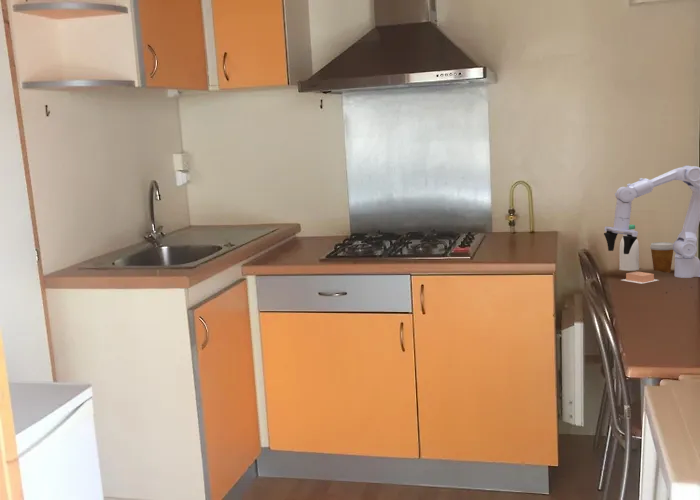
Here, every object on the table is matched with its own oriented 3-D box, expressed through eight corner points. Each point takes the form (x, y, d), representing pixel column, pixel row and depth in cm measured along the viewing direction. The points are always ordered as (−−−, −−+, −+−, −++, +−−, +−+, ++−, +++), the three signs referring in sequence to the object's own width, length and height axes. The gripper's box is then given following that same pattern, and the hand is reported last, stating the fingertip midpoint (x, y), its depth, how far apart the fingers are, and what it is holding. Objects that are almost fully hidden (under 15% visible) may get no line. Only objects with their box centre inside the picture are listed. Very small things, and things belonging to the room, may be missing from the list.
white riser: (638, 280, 296) (638, 276, 296) (659, 283, 287) (659, 280, 287) (620, 283, 291) (620, 280, 291) (641, 287, 282) (641, 283, 282)
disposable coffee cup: (670, 270, 314) (670, 241, 312) (677, 274, 304) (678, 244, 303) (646, 270, 315) (646, 242, 313) (653, 274, 305) (653, 245, 304)
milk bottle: (640, 274, 309) (640, 225, 306) (620, 274, 310) (620, 226, 307) (637, 270, 316) (637, 223, 313) (618, 271, 318) (618, 224, 315)
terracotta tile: (636, 277, 294) (636, 271, 293) (653, 280, 287) (653, 274, 286) (626, 279, 291) (626, 273, 291) (643, 282, 284) (643, 276, 284)
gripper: (600, 215, 295) (596, 249, 297) (630, 220, 283) (626, 255, 285) (613, 215, 299) (609, 249, 301) (643, 220, 286) (638, 255, 288)
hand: (618, 252), depth 293 cm, fingers open, 7 cm apart
